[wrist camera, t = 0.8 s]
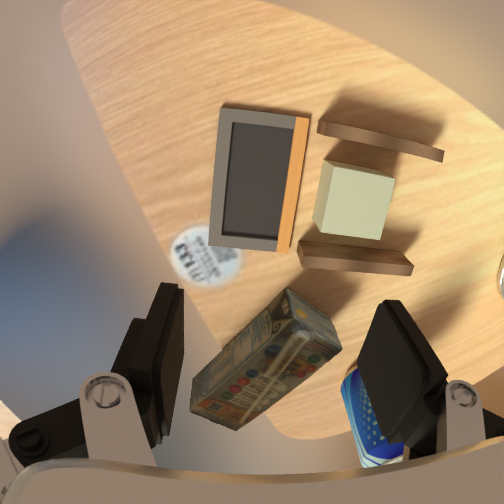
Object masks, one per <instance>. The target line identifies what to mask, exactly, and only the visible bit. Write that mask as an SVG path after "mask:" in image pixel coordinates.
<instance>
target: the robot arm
mask: <svg viewBox="0 0 504 504" xmlns="http://www.w3.org/2000/svg"><path fill="white" fill-rule="evenodd" d="M497 287H498V292H499V294H500V296H501V297H502V298H503V299H504V257H503V259H502V262H501V265H500V268H499V272H498V278H497ZM183 357H184V289H179V288H178V284H173V283H164V282H161V283H160V286H159V288H158V291H157V293H156V295H155V298H154V300H153V303H152V306H151V308H150V310H149V313H148V315H147V318H146V319H140V318H134V319H133V320H132V322H131V324H130V326H129V329H128V331H127V333H126V336H125V338H124V340H123V343H122V345H121V347H120V350H119V352H118V355H117V357H116V360H115V362H114V364H113V367H112V369H111V372H100V373H96V374H93V375H92V376H90V377H88V378H87V379H86V380H85V381H84V382H83V383H82V385H81V387H80V390H79V398H78V399H76V400H74V401H71V402H69V403H66V404H64V405H62V406H59V407H57V408H54V409H52V410H49V411H47V412H44V413H42V414H39V415H37V416H34V417H32V418H29V419H27V420H24V421H22V422H20V423H18V424H17V425H16V426H15V427H14V428H13V429H12V431H11V433H10V435H9V438H8V439H5V440H2V438H1V437H0V504H504V418H502V417H500V416H497V415H496V414H493V413H492V412H490V411H488V410H486V409H483V408H482V404H481V398H480V395H479V393H478V392H477V390H476V389H475V388H474V387H473V386H472V385H471V384H469V383H468V382H465V381H462V380H453V381H451V382H449V383H448V382H447V380H446V378H447V376H448V373H447V372H446V370H445V368H444V367H443V365H442V364H441V362H440V360H439V359H438V357H437V356H436V354H435V352H434V351H433V349H432V348H431V346H430V345H429V343H428V341H427V340H426V338H425V337H424V335H423V334H422V332H421V331H420V329H419V328H418V326H417V325H416V323H415V322H414V320H413V319H412V317H411V316H410V314H409V313H408V311H407V310H406V308H405V307H404V306H403V304H402V303H401V301H400V300H384V301H383V302H382V303H380V304H379V305H378V307H377V309H376V312H375V315H374V318H373V320H372V323H371V326H370V328H369V331H368V334H367V336H366V339H365V341H364V344H363V346H362V349H361V351H360V354H359V356H358V359H357V367H358V370H359V373H360V375H361V378H362V381H363V384H364V386H365V389H366V392H367V394H368V397H369V400H370V403H371V406H372V408H373V411H374V414H375V417H376V420H377V422H378V425H379V428H380V431H381V434H382V435H383V436H384V437H386V439H387V442H388V444H394V443H400V442H402V441H403V443H404V445H405V446H404V451H403V458H402V462H397V463H391V464H386V465H380V466H373V467H367V468H360V469H352V470H343V471H334V472H323V473H307V474H283V475H247V474H246V475H245V474H224V473H209V472H197V471H186V470H177V469H168V468H161V467H157V465H156V462H155V460H154V457H153V454H152V452H151V449H152V448H154V447H155V446H156V444H162V438H163V436H169V434H170V428H171V422H172V417H173V411H174V405H175V399H176V394H177V389H178V384H179V378H180V373H181V368H182V363H183Z"/></svg>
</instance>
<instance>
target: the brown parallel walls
mask: <svg viewBox="0 0 504 504" xmlns="http://www.w3.org/2000/svg"><path fill="white" fill-rule="evenodd" d="M317 133H319V134H322V135H325V136H329V137H335V138H340V139H345V140H351V141H356V142H360V143H365V144H370V145H374V146H379V147H383V148H388V149H392V150H396V151H400V152H404V153H408V154H412V155H416V156H420V157H424V158H427V159H431V160H434V161H438V162H441V163H442V161H443V156H444V150H440V149H437V148H434V147H431V146H427V145H424V144H421V143H417V142H413V141H410V140H406V139H402V138H398V137H395V136H391V135H387V134H382V133H378V132H374V131H370V130H365V129H361V128H356V127H351V126H346V125H341V124H336V123H331V122H326V121H320V120H319V121H318V127H317ZM297 254H298V257H299V260H300V262H301V265H302V267H305V268H316V269H328V270H340V271H352V272H364V273H376V274H389V275H401V276H411V274H412V271H413V268H414V265H413V264H412V263H411V262H410V261H409V260H408V259H407V258H406V257H405V256H404V255H403V254H402V253H401V252H399V251H390V250H381V249H372V248H363V247H354V246H344V245H335V244H325V243H316V242H306V241H299V242H298V247H297Z"/></svg>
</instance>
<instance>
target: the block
mask: <svg viewBox="0 0 504 504" xmlns="http://www.w3.org/2000/svg"><path fill="white" fill-rule="evenodd" d="M394 183H395V178H393V177H391V176H389V175H387V174H385V173H384V172H382V171H380V170H376V169H371V168H366V167H361V166H356V165H351V164H346V163H341V162H336V161H330V160H325V159H323V164H322V169H321V175H320V180H319V186H318V191H317V196H316V201H315V206H314V211H313V216H312V219H313V220H314V222H315V224H316V225H317V227H318V229H319V231H320V232H322V233H330V234H338V235H345V236H353V237H360V238H368V239H375V240H380V238H381V234H382V231H383V227H384V223H385V220H386V216H387V212H388V208H389V204H390V200H391V196H392V192H393V188H394Z"/></svg>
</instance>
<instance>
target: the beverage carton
mask: <svg viewBox="0 0 504 504" xmlns="http://www.w3.org/2000/svg"><path fill="white" fill-rule="evenodd" d="M341 350H342V346H341V343H340V341H339V339H338V336H337V332H336V330H335V327H334V325H333V324H332V322H331V319H330V317H328V316H327V315H325V314H323V313H322V312H321V311H319V310H317V309H316V308H315V307H313V306H312V305H311V304H309V303H308V302H306V301H305V300H304V299H302V298H301V297H299V296H298V295H297V294H296V293H294V292H293V291H291V290H290V289H288V288H285V289H284V290H283V291H282V292H281V293H280V294H279V295H278V296H277V297H276V298H275V299H274V300H273V301H272V302H271V303H270V304H269V305H268V306H267V307H266V308H265V309H264V310H263V311H262V312H261V313H260V314H259V315H258V316H257V317H256V318H255V319H254V320H253V321H252V322H251V323H250V324H249V325H248V326H247V327H246V328H245V329H244V330H243V331H242V332H241V333H240V334H239V335H238V336H237V337H236V338H235V339H233V340H232V341H231V342H230V343H229V344H228V345H227V346H226V347H225V348H224V349H223V350H222V351H221V352H220V353H219V354H218V355H217V356H216V357H215V358H214V359H213V360H212V361H211V362H210V363H209V364H208V365H207V366H206V367H204V368H203V369H202V370H201V371H200V372H199V373H198V374H197V375H196V376H195V377H194V378H193V382H192V391H191V399H190V412H191V413H193V414H196V415H199V416H202V417H204V418H206V419H209V420H210V421H212V422H215V423H217V424H220V425H223V426H225V427H228V428H230V429H233V430H235V431H237V430H238V429H240V428H241V427H243V426H244V425H246V424H247V423H249V422H250V421H252V420H253V419H254V418H256V417H257V416H259V415H260V414H261V413H263V412H264V411H266V410H267V409H268V408H270V407H271V406H272V405H273V404H275V403H276V402H277V401H279V400H280V399H281V398H283V397H284V396H285V395H287V394H288V393H289V392H291V391H292V390H293V389H294V388H296V387H297V386H298V385H300V384H301V383H302V382H303V381H305V380H306V379H307V378H309V377H310V376H311V375H312V374H313V373H315V372H316V371H317V370H318V369H319V368H321V367H322V366H323V365H324V364H325V363H327V362H328V361H330V360H331V359H332V358H333V357H334V356H335V355H337V354H338V353H339V352H341Z"/></svg>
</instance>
